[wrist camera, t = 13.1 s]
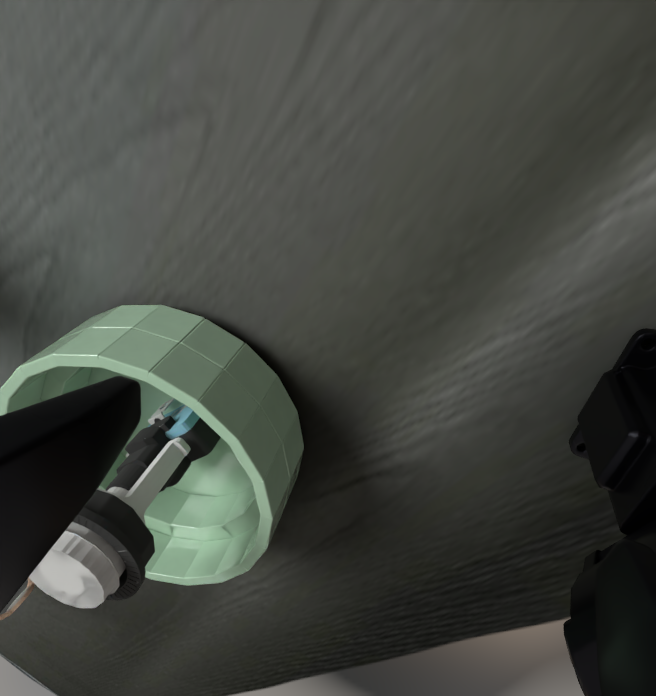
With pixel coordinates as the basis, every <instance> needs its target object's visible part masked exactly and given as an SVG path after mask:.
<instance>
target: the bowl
mask: <svg viewBox="0 0 656 696" xmlns="http://www.w3.org/2000/svg"><path fill="white" fill-rule="evenodd" d="M115 376H123V377H126V378H129V379H133V380H136V381H137V382H139V384H140V387H141V419H140V422H139V424H138V426H137V428H136V429H135V431H134V432H133V434H132V436H131V437H130V439H129V440H128V442H127V444H126V445H125V447H124V448H123V450H122V451H121V453H120V455H119V456H118V458H117V459H116V461H115V463H114V464H113V466H112V467H111V469H110V471H109V472H108V474H107V475H106V477H105V478H104V480H103V482H102V483H101V485H100V486H99V488H100V489H103V490H106V488H107V486H108V485H109V484H110V483H111V482H112V481H113V479H114V478H115V477H116V476H117V468H118V467H119V466H120V465H121V464H122V463H123V461H124V460H125V459H126V458H127V457H126V454H127V453H128V452H127V451H126V450H125V448H126V446H127V445H128V444H129V442H130V441H131V440H132V439H133V438H134V437H135V436H136V435H137V434H138V432H139V431H140V430H142V429H144V428H146V427H148V426H149V425H150V423H149V422H148V419H150V418H151V416H152V415H153V414H154V413H155V412H156V411H157V409H158V408H159V407H160V406H161V405H162V404H164V403H165V402H167V401H169V400H171V399H172V398H174V399H175V400H174V401H173V402H172V403H171V405H170V406H169V407H168V408H167V409H166V410H165V411H164V412H162V413H163V415H165V414H167V413H169V412H171V411H173V410H175V409H177V408H179V407H181V406H182V405H186V406H187V407H189V408H191V409H192V410H193V411H194V412H195V413H196V414H197V415H198V416H199V417H200V418H201V419H202V420H203V421H205V422H206V423H207V424H208V425H209V426H210V427H211V428H212V429H213V430H214V431H215V432H216V433H217V434H218V435H219V436H220V437H221V438H220V440H219V441H218V443H217V444H216V446H215V447H214V449H213V450H212V451H211V452H210V453H209V454H208V455H206V456H204V457H202V458H200V459H197V460H195V461H193V462H191V465H190V467H189V468H188V470H187V471H186V472H185V474H184V475H183V477H182V478H181V480H180V481H179V482H178V483H177V484H176V485H174V486H171V487H167V488H165V490H164V491H161V492H159V493H158V494H157V495H156V497H155V498H154V500H153V501H152V502H151V504H150V505H149V506H148V508H147V509H146V511H145V514H144V519H145V524H146V527H147V528H148V529H149V531H150V532H151V533H152V535H153V537H154V546H155V552H154V554H153V555H152V557H151V559H150V560H149V562H148V563H147V565H146V566H145V571H146V573H145V577H146V578H149V579H152V580H157V581H163V582H169V583H175V584H181V585H201V584H213V583H221V582H224V581H227V580H229V579H231V578H233V577H236V576H238V575H240V574H242V573H245V572H247V571H248V570H250V569H251V568H252V566H253V565H254V564H255V563H256V562H257V560H258V559H259V558H260V557H261V556H262V554H263V553H264V552H265V551H266V550H267V548H268V546H269V543H270V541H271V539H272V536H273V534H274V532H275V529H276V527H277V524H278V522H279V520H280V517H281V515H282V513H283V510H284V508H285V505H286V503H287V501H288V498H289V496H290V493H291V491H292V489H293V486H294V484H295V482H296V479H297V477H298V473H299V469H300V464H301V460H302V455H303V450H304V444H303V439H302V433H301V428H300V422H299V417H298V413H297V409H296V408H295V406H294V404H293V402H292V400H291V399H290V397H289V395H288V393H287V391H286V389H285V388H284V386H283V384H282V382H281V380H280V379H279V377H278V375H277V374H276V373H275V372H274V371H273V370H272V369H271V368H270V367H269V366H268V365H267V364H266V363H265V362H264V361H263V360H262V359H261V358H260V357H259V356H258V355H257V354H256V353H255V352H254V351H253V350H252V349H251V347H250V346H249V345H248V344H247V343H244V342H243V341H242V340H240V339H238V338H237V337H235V336H233V335H232V334H230V333H229V332H227V331H225V330H224V329H222V328H220V327H219V326H217V325H216V324H214V323H212V322H211V321H209V320H207V319H205V318H204V317H201V316H198V315H194V314H191V313H188V312H184V311H181V310H178V309H174V308H171V307H168V306H164V305H121V306H118V307H116V308H113V309H111V310H109V311H106V312H104V313H101V314H99V315H96V316H94V317H91V318H90V319H88V320H87V321H85V322H84V323H82V324H81V325H80V326H78V327H77V328H75V329H74V330H72V331H71V332H69V333H68V334H66V335H65V336H63V337H62V338H60V339H59V340H57V341H56V342H55V343H53V344H52V345H50V346H49V347H47V348H46V349H44V350H43V351H41V352H40V353H38V354H37V355H35V356H34V357H32V358H31V359H29V360H28V361H26V362H25V363H23V364H22V365H21V366H19V367H18V368H17V369H16V370H15V372H14V373H13V374H12V375H11V376H10V378H9V379H8V380H7V381H6V382H5V384H4V385H3V386H2V387H1V389H0V416H1V415H4V414H7V413H10V412H13V411H16V410H19V409H22V408H25V407H28V406H31V405H33V404H36V403H39V402H42V401H45V400H48V399H51V398H54V397H57V396H60V395H63V394H65V393H68V392H71V391H74V390H77V389H80V388H83V387H86V386H89V385H92V384H95V383H97V382H100V381H103V380H106V379H109V378H112V377H115ZM164 407H165V406H164Z"/></svg>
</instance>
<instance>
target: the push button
mask: <svg viewBox="0 0 656 696" xmlns="http://www.w3.org/2000/svg"><path fill="white" fill-rule="evenodd" d="M174 400H175V399H174V398H172V399H171V400H169V401H167V402H165V403H164V404H162V405H161V406H160V407H159V408H158V409H157V411H156V412H155V413H154V414H153V415H152V416H151V418H150V419H148V422H149V423H150V425H149V426H148V427H146V428H144V429H142V430H140V431H139V432H138V434H137V435H136V436H135V437H134V438H133V439H132V440H131V441H130V442H129V444H128V445H127V446H126V448H125V450H126V451H127V452H128V453H127V454H126V457H127V458H126V459H125V460H124V461H123V463H122V464H121V465H120V466H119V467H118V468H117V476H116V477H115V478H114V479H113V481H112V482H111V483H110V484H109V485H108V486H107V488H106V490H103V489H100V488H98V489H97V491H96V492H95V493H94V495H93V496H92V497H91V499H90V500H89V501H88V502H87V504H86V505H85V506H84V508H83V509H82V510H81V511H80V513H79V514H78V515H77V516H76V518H75V519H74V520H73V521H72V523H71V524H70V525H69V527H68V528H67V529H66V530H65V532H64V533H63V534H62V535H61V537H60V538H59V539H58V540H57V542H56V543H55V544H54V545H53V547H52V548H51V549H50V551H49V552H48V553H47V554H46V556H45V557H44V558H43V559H42V561H41V562H40V563H39V564H38V566H37V567H36V568H35V569H34V571H33V572H32V573H31V575H30V576H29V578H30V579H31V581H32V582H34V583H35V584H36V585H37V587H39V588H40V589H42V590H43V591H44V592H45V593H46V594H48V595H50V596H52V597H53V598H55V599H56V600H58V601H61V602H62V603H65V604H68V605H72V606H74V607H77V608H96V607H97V606H98V605H100V604H101V603H102V602H103V601H104V600H122V599H126V598H129V597H131V596H133V595H134V594H135V593H136V592H137V591H138V589H139V588H140V586H141V585H142V583H143V581H144V579H145V573H146V571H145V566H146V565H147V563H148V562H149V560H150V559H151V557H152V555H153V554H154V552H155V546H154V537H153V535H152V533H151V532H150V531H149V529H148V528H147V527H146V524H145V519H144V514H145V511H146V509H147V508H148V506H149V505H150V504H151V502H152V501H153V500H154V498H155V497H156V495H157V494H158V493H159V492H161V491H164V490H165V488H167V487H171V486H174V485H176V484H177V483H178V482H179V481H180V480H181V478H182V477H183V475H184V474H185V472H186V471H187V470H188V468H189V467H190V465H191V462H193V461H195V460H197V459H200V458H202V457H204V456H206V455H208V454H209V453H210V452H211V451H212V450H213V449H214V447H215V446H216V444H217V443H218V441H219V440H220V438H221V437H220V436H219V435H218V434H217V433H216V432H215V431H214V430H213V429H212V428H211V427H210V426H209V425H208V424H207V423H206V422H205V421H203V420H202V419H201V418H200V417H199V416H198V415H197V414H196V413H195V412H194V411H193V410H192V409H191V408H189V407H187V406H186V405H182V406H181V407H179V408H177V409H175V410H173V411H171V412H169V413H167V414H165V415H163V413H162V412H164V411H165V410H166V409H167V408H168V407H169V406H170V405H171V403H172V402H173V401H174ZM164 406H165V407H164Z"/></svg>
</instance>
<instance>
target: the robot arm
mask: <svg viewBox="0 0 656 696" xmlns="http://www.w3.org/2000/svg"><path fill="white" fill-rule="evenodd" d="M646 339H653V341H652V342H651V343H650V344H649V345H646V346H645V345H641V343H642V342H643V341H644V340H646ZM140 419H141V387H140V384H139V382H137V381H136V380H133V379H129V378H126V377H123V376H115V377H112V378H109V379H106V380H103V381H100V382H97V383H95V384H92V385H89V386H86V387H83V388H80V389H77V390H74V391H71V392H68V393H65V394H63V395H60V396H57V397H54V398H51V399H48V400H45V401H42V402H39V403H36V404H33V405H31V406H28V407H25V408H22V409H19V410H16V411H13V412H10V413H7V414H4V415H1V416H0V612H1V611H2V610H3V609H4V607H5V606H6V605H7V604H8V602H9V601H10V600H11V599H12V597H13V596H14V595H15V594H16V592H17V591H18V590H19V588H20V587H21V586H22V585H23V583H24V582H25V581H26V580H27V578H28V577H29V576H30V575H31V573H32V572H33V571H34V569H35V568H36V567H37V566H38V564H39V563H40V562H41V561H42V559H43V558H44V557H45V556H46V554H47V553H48V552H49V551H50V549H51V548H52V547H53V545H54V544H55V543H56V542H57V540H58V539H59V538H60V537H61V535H62V534H63V533H64V532H65V530H66V529H67V528H68V527H69V525H70V524H71V523H72V521H73V520H74V519H75V518H76V516H77V515H78V514H79V513H80V511H81V510H82V509H83V508H84V506H85V505H86V504H87V502H88V501H89V500H90V499H91V497H92V496H93V495H94V493H95V492H96V491H97V489H98V488H99V486H100V485H101V483H102V482H103V480H104V478H105V477H106V475H107V474H108V472H109V471H110V469H111V467H112V466H113V464H114V463H115V461H116V459H117V458H118V456H119V455H120V453H121V451H122V450H123V448H124V447H125V445H126V444H127V442H128V440H129V439H130V437H131V436H132V434H133V432H134V431H135V429H136V428H137V426H138V424H139V422H140ZM578 422H579V425H578V426H577V428H576V429H575V431H574V433H573V434H572V436H571V438H570V440H569V444H570V448H571V451H572V452H573V454H575V455H577V456H580V457H583V458H587V459H589V460H590V464H591V467H592V471H593V474H594V478H595V481H596V482H597V484H598V486H599V487H600V488H603V489H606V490H608V492H609V496H610V499H611V502H612V505H613V509H614V512H615V515H616V518H617V522H618V525H619V528H620V530H621V532H622V533H624V534H626V535H627V536H626V537H624V538H623V539H621V540H619V541H618V542H616V543H614V544H613V545H611V546H609V547H608V548H606V549H604V550H603V551H600V550H596V551H595V552H593V553H592V554H590V555H588V556H587V557H586V558H585V562H584V568H583V572H582V573H580V574H579V576H578V577H577V579H576V581H575V583H574V585H573V586H572V588H571V609H570V615H571V619H569V620H567V621H566V622H565V623H564V636H565V640H566V644H567V648H568V651H569V655H570V659H571V661H572V664H573V667H574V669H575V672H576V675H577V678H578V681H579V684H580V686H581V689H582V691H583V693H584V695H585V696H656V330H654V329H647V328H646V329H641V330H639V331H637V332H636V333H635V334H634V335H633V336H632V338H631V339H630V341H629V342H628V344H627V346H626V347H625V349H624V351H623V352H622V354H621V356H620V357H619V359H618V360H617V362H616V364H615V365H614V367H613V369H612V370H610V371H608V372H606V373H604V374H603V376H602V377H601V379H600V381H599V382H598V384H597V386H596V387H595V389H594V391H593V392H592V394H591V396H590V397H589V399H588V401H587V402H586V404H585V406H584V407H583V409H582V411H581V412H580V414H579V415H578ZM581 443H585V446H578V445H579V444H581Z"/></svg>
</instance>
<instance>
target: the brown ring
mask: <svg viewBox="0 0 656 696" xmlns="http://www.w3.org/2000/svg"><path fill="white" fill-rule="evenodd" d="M34 584H35V583H34V582H32V581H31V579H30V578H29V577H28V584H27V588H26V589H25V590H24V591H23V592H22V593H21V594H20V595H19V596H18V597H17V599H16V600H15V601H14V602H13V603H12V604H11V606H10V607H9V608H8V610H7V612H6V613H4V614H2V615H0V620H2V619H4V618H5V617H8V616H10V615H11V614H12V613H13V612H14V611H15V610H16V609H17V608H18V607H19V606H20V605H21V604H22V602H23V601H24V600H25V599H26V598H27V597H28V595H29V594H30V593H31V591H32V590H33V588H34Z"/></svg>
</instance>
